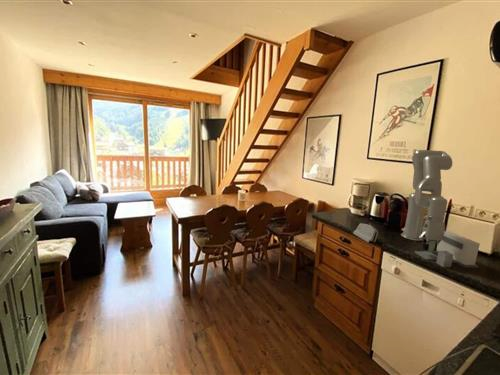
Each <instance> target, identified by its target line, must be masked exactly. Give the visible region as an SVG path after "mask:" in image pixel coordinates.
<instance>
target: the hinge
mask: <svg viewBox="0 0 500 375" xmlns="http://www.w3.org/2000/svg"><path fill="white" fill-rule="evenodd" d="M358 224H359V225H358V226H357V228H356V229H355V230H354V231H353V232H352V234H354V235H355V236H357V237H358V238H360V239H361V240H363V241H365V242H367V243H370V242H373V243H375V242H376V240H377V238H378V235H379V231H378V230H377V228H375V227H373V226H372V225H370V224H368V223H367V224H366V223H362V222H361V223H358Z"/></svg>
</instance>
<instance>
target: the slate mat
mask: <svg viewBox="0 0 500 375" xmlns="http://www.w3.org/2000/svg"><path fill="white" fill-rule="evenodd" d="M414 254H416V255H418V256H420V257H421V258H423V259H424V260H426V261H437V256H438V255H436V254H434V253H429V252H426V251H417V250H415V251H414Z"/></svg>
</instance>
